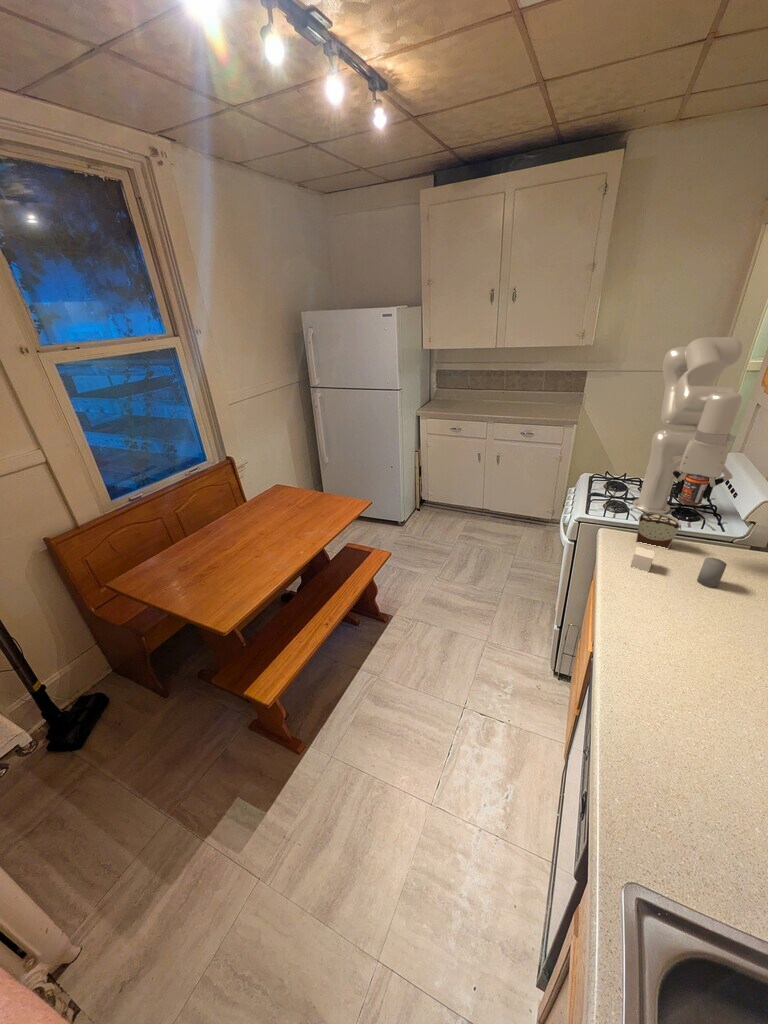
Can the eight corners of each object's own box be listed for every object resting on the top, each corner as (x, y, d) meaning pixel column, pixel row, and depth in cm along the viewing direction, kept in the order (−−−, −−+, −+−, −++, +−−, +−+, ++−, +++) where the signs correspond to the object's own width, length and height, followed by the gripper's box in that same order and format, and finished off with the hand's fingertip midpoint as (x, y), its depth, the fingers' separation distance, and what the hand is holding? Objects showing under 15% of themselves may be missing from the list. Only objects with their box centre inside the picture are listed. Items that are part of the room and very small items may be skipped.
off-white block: (632, 559, 130) (636, 546, 128) (650, 564, 127) (655, 551, 125) (630, 567, 127) (634, 553, 124) (648, 572, 124) (652, 558, 122)
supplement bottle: (672, 500, 125) (683, 466, 120) (685, 496, 127) (696, 462, 122) (692, 507, 120) (705, 472, 115) (705, 503, 122) (718, 468, 117)
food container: (673, 542, 138) (682, 516, 134) (673, 550, 134) (682, 524, 129) (632, 533, 144) (639, 508, 140) (631, 541, 140) (638, 515, 135)
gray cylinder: (695, 576, 121) (703, 556, 118) (716, 579, 119) (724, 559, 116) (699, 584, 117) (706, 564, 114) (720, 589, 115) (728, 568, 112)
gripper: (750, 438, 112) (727, 496, 121) (676, 429, 122) (659, 484, 130) (751, 445, 107) (727, 506, 115) (673, 436, 117) (656, 492, 125)
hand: (691, 494), depth 123 cm, fingers closed on supplement bottle, 6 cm apart
